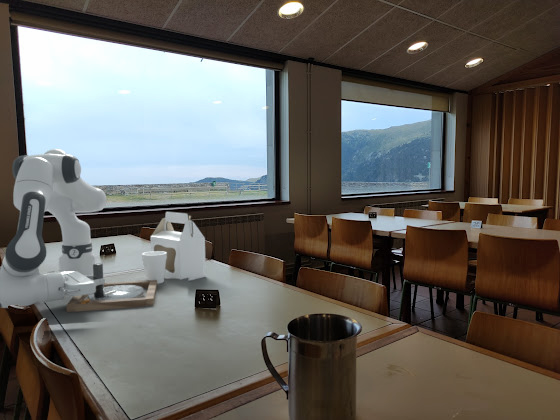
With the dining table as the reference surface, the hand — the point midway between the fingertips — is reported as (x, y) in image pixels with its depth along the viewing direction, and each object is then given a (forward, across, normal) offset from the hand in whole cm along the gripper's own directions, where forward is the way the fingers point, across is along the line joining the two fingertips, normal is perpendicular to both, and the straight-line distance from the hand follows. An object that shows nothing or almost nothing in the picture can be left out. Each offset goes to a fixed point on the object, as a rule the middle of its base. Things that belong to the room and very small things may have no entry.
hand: (101, 279), depth 137 cm
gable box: (+40, +23, +9) cm, 47 cm away
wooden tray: (+6, +3, +9) cm, 11 cm away
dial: (+6, +3, +8) cm, 10 cm away
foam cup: (+25, +14, +9) cm, 30 cm away
